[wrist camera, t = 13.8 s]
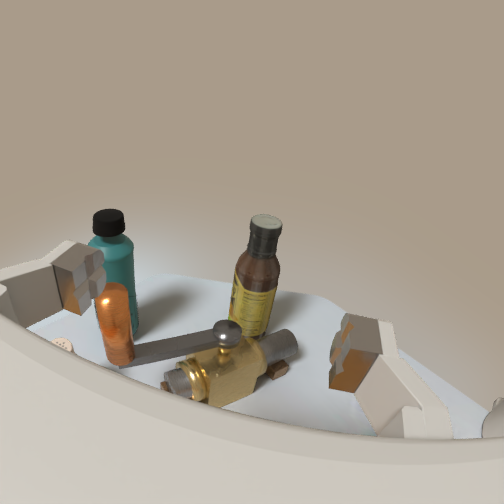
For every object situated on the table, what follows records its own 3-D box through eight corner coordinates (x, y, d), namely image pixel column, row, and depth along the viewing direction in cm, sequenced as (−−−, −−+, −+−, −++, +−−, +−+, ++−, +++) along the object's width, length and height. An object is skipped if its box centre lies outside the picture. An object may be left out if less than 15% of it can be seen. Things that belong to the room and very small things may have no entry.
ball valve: (270, 346, 48) (283, 300, 44) (294, 372, 44) (312, 327, 40) (159, 388, 38) (155, 341, 33) (179, 423, 34) (178, 381, 29)
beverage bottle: (123, 312, 49) (115, 198, 39) (149, 334, 46) (145, 214, 36) (92, 330, 44) (73, 211, 34) (116, 355, 41) (98, 231, 31)
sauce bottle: (237, 313, 54) (256, 204, 44) (270, 327, 52) (298, 218, 42) (218, 335, 49) (235, 219, 39) (254, 352, 47) (282, 236, 37)
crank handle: (232, 326, 37) (243, 261, 33) (245, 345, 35) (259, 279, 30) (106, 352, 30) (92, 284, 25) (111, 376, 28) (96, 307, 23)
